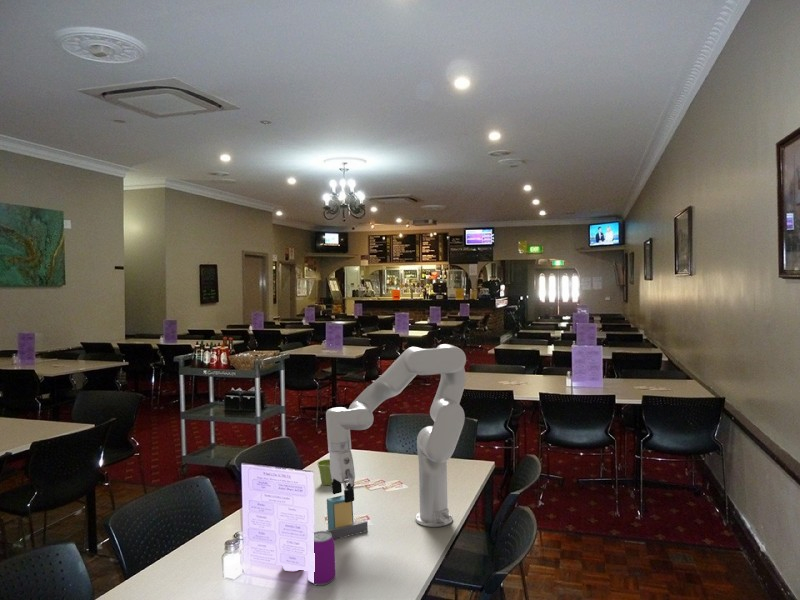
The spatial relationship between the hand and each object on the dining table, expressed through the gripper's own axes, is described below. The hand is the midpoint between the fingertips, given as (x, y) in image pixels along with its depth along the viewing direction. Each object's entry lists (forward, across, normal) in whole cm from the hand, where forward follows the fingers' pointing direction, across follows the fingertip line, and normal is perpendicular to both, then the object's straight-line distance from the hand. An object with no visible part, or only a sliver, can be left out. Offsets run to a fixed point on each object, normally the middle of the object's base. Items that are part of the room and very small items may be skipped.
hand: (343, 497), depth 189 cm
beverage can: (+10, -26, +20) cm, 35 cm away
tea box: (+10, +1, +1) cm, 11 cm away
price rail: (+11, -3, +1) cm, 11 cm away
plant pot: (+11, +46, -14) cm, 49 cm away
